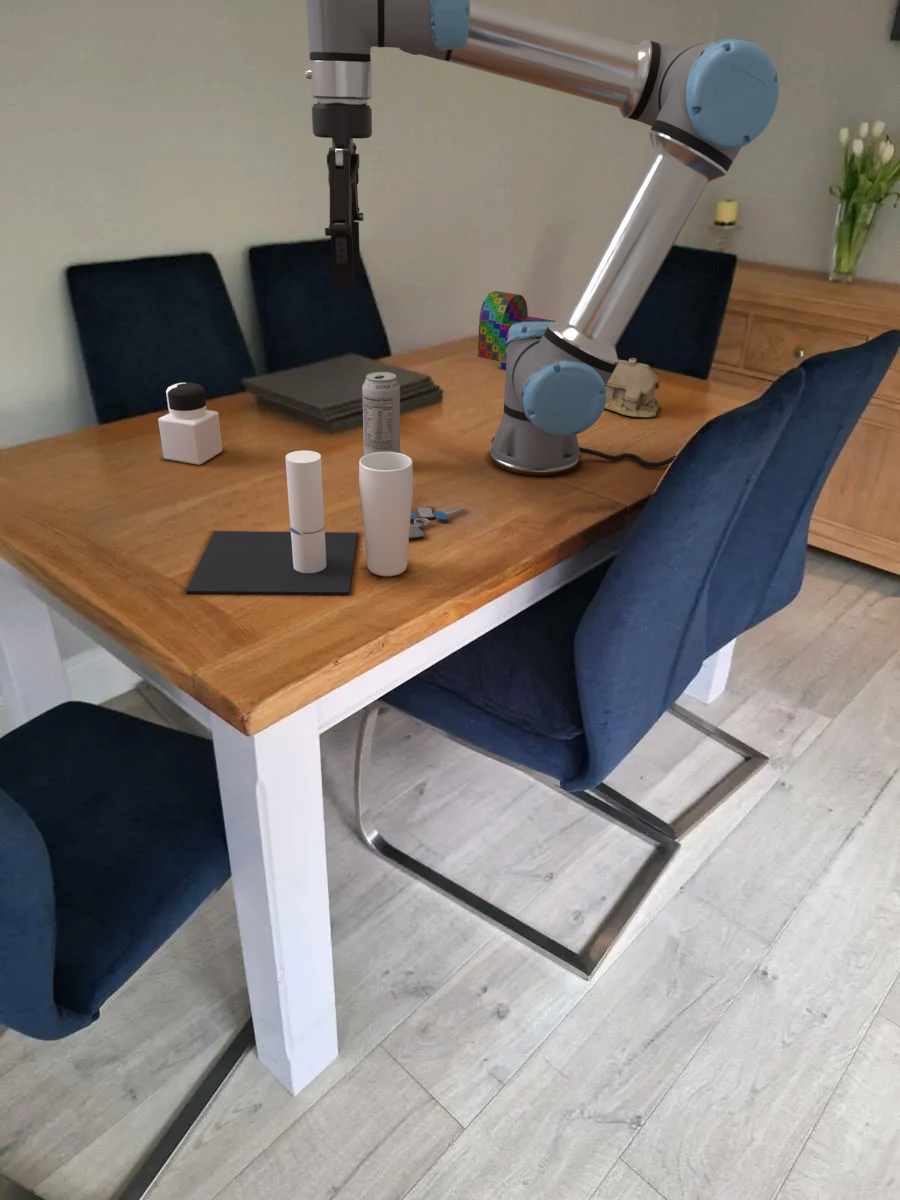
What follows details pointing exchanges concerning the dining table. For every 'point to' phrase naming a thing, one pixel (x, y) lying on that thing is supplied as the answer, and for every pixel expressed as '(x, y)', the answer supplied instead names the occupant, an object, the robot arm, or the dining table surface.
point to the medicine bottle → (189, 426)
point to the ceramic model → (632, 389)
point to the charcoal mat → (270, 565)
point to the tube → (306, 510)
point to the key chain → (425, 513)
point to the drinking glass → (386, 510)
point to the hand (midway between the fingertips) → (347, 279)
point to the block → (500, 323)
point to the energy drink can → (381, 413)
